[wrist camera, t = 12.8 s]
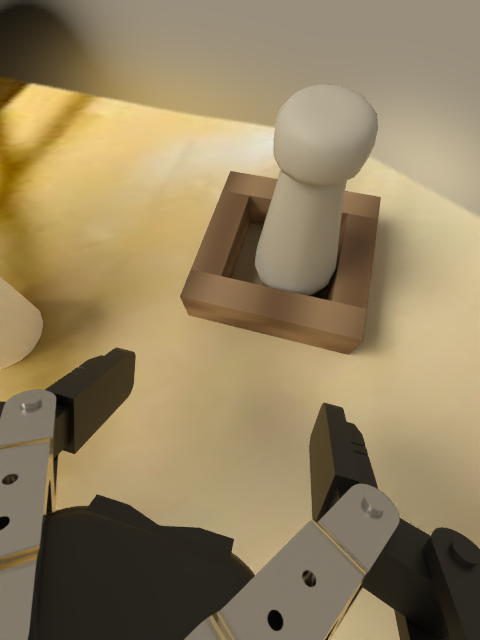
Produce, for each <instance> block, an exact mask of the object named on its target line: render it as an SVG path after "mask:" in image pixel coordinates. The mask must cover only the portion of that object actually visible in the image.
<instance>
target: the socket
mask: <svg viewBox="0 0 480 640" xmlns="http://www.w3.org/2000/svg"><path fill="white" fill-rule="evenodd" d="M277 180H278V179H273V178H267V177H262V176H256V175H250V174H244V173H238V172H233V171H230V174H229V176H228V179H227V181H226V184H225V186H224V189H223V191H222V194H221V196H220V199H219V201H218V203H217V206H216V208H215V211H214V213H213V216H212V218H211V221H210V223H209V226H208V228H207V231H206V233H205V236H204V238H203V241H202V243H201V246H200V248H199V251H198V253H197V256H196V258H195V261H194V263H193V266H192V268H191V271H190V273H189V276H188V278H187V280H186V283H185V285H184V288H183V290H182V293H181V295H180V297H181V300H182V302H183V304H184V306H185V308H186V310H187V313H188V315H191V316H195V317H199V318H203V319H207V320H211V321H215V322H219V323H223V324H227V325H231V326H235V327H239V328H243V329H247V330H251V331H255V332H259V333H263V334H267V335H271V336H275V337H279V338H284V339H288V340H292V341H296V342H300V343H304V344H308V345H312V346H316V347H320V348H324V349H328V350H332V351H336V352H340V353H344V354H349V353H350V352H351V351H352V350H353V349H354V348H355V347H356V346H357V345H358V344H359V343H360V342H362V341H363V335H364V327H365V319H366V311H367V303H368V295H369V287H370V279H371V271H372V263H373V255H374V247H375V239H376V231H377V223H378V215H379V207H380V199H381V197H377V196H371V195H365V194H360V193H354V192H348V191H345V195H344V202H343V209H342V216H341V225H340V234H339V243H338V252H337V261H336V270H335V272H334V274H333V276H332V277H331V279H330V281H329V286H328V291H327V296H326V300H325V299H320V298H316V297H311V296H307V295H303V294H298V293H294V292H289V291H285V290H280V289H276V288H271V287H267V286H263V285H258V284H254V283H249V282H245V281H240V280H236V279H231V276H232V273H233V270H234V267H235V264H236V261H237V258H238V255H239V252H240V250H241V247H242V244H243V241H244V238H245V235H246V232H247V229H248V226H249V223H250V222H251V223H256V224H261V225H264V223H265V220H266V216H267V213H268V210H269V207H270V203H271V200H272V197H273V194H274V190H275V187H276V184H277Z"/></svg>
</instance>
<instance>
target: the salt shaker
mask: <svg viewBox="0 0 480 640" xmlns="http://www.w3.org/2000/svg"><path fill="white" fill-rule="evenodd" d="M377 130H378V123H377V113H376V112H375V110H374V109H373V107H372V106H371V104H370V103H369V102H368V101H367V100H366V99H365V97H364V96H363V95H362V94H360V93H358V92H356V91H354V90H352V89H350V88H348V87H343V86H337V85H332V84H326V85H314V86H310V87H307V88H305V89H303V90H301V91H298V92H296V93H295V94H294V95H293V96H292V97H290V98H289V99H288V101H287V102H286V103H285V104H284V105H283V106H282V107H281V108H280V109H279V112H278V116H277V120H276V124H275V133H274V156H275V159H276V161H277V163H278V165H279V167H280V169H281V171H280V174H279V177H278V180H277V184H276V187H275V190H274V194H273V197H272V200H271V203H270V207H269V210H268V213H267V216H266V220H265V223H264V226H263V230H262V233H261V236H260V239H259V243H258V246H257V250H256V258H255V267H256V270H257V272H258V275H259V277H260V279H261V282H262V283H263V284H264V285H265V286H267V287H271V288H276V289H280V290H285V291H289V292H294V293H298V294H303V295H307V296H311V295H313V294H314V293H316V292H318V291H320V290H321V289H323V288H325V287H326V286H327V284H328V283H329V281H330V279H331V277H332V276H333V274H334V272H335V270H336V261H337V252H338V243H339V234H340V225H341V216H342V209H343V202H344V195H345V188H346V181H347V180H349V179H351V178H353V177H355V176H356V174H357V173H358V172H359V171H360V169H361V168H362V166H363V165H364V163H365V162H366V160H367V159H368V157H369V155H370V153H371V151H372V148H373V146H374V144H375V139H376V135H377Z"/></svg>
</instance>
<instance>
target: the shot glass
mask: <svg viewBox="0 0 480 640" xmlns="http://www.w3.org/2000/svg"><path fill="white" fill-rule="evenodd" d="M42 328H43V320H42V316H41V313H40V311H39V310H38V309H37V308H36V307H35V306H34V305H33V304H32V303H30V302H29V301H28V300H27V299H26V298H25V297H23V296H22V295H21V294H20V293H19V292H18V291H16V290H15V289H14V288H13V287H12V286H11V285H9V284H8V283H7V282H6V281H5V280H4V279H2V278H1V277H0V369H2V368H7V367H9V366H11V365H13V364H15V363H17V362H20V361H21V360H22V359H23V358H24V357H26V356H27V355H28V354H29V353H30V352H31V351H32V350H33V349H34V347H35V346H36V344H37V342H38V341H39V339H40V337H41V334H42Z"/></svg>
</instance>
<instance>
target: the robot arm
mask: <svg viewBox="0 0 480 640" xmlns="http://www.w3.org/2000/svg"><path fill="white" fill-rule="evenodd" d="M134 372H135V353H134V352H132V351H128V350H124V349H121V348H115V349H113V350H112V351H110V352H109V353H108V354H106V355H105V356H98V357H95V358H92V359H89V360H87V361H86V362H85V363H83V364H82V365H80V366H79V368H78V367H77V368H76V369H74V370H73V371H72V372H71V373H69V374H67V375H66V376H64V377H63V378H61V379H60V380H58V381H57V382H55V383H54V384H53V385H51V386H50V387H48V388H47V389H45V390H30V391H25V392H22V393H19V394H17V395H15V396H13V397H11V398H10V399H9V400H8V401H7V402H0V640H330V639H331V638H332V636H333V635H334V633H335V631H336V630H337V628H338V627H339V625H340V623H341V622H342V620H343V619H344V617H345V615H346V614H347V612H348V611H349V609H350V607H351V606H352V604H353V602H354V601H355V599H356V598H357V596H358V594H359V593H360V591H361V590H362V588H365V589H366V590H367V591H369V592H370V593H372V594H373V595H375V596H376V597H377V598H379V599H380V600H382V601H383V602H385V603H386V604H388V605H389V606H390V607H392V608H393V609H394V610H395V615H396V621H397V626H398V631H399V636H400V640H480V549H479V548H478V547H477V546H476V545H475V544H474V543H473V542H472V541H470V540H469V539H468V538H466V537H465V536H463V535H462V534H460V533H458V532H456V531H454V530H452V529H448V528H443V527H442V528H437V529H435V530H434V531H433V533H432V534H431V536H430V535H428V534H426V533H425V532H423V531H421V530H420V529H418V528H416V527H414V526H413V525H411V524H409V523H407V522H406V521H404V520H402V519H401V518H400V517H399V514H398V511H397V509H396V507H395V505H394V504H393V502H392V501H391V500H390V499H389V498H388V497H387V496H386V495H385V494H384V493H383V492H381V491H380V490H378V487H377V484H376V480H375V477H374V473H373V470H372V466H371V463H370V460H369V457H368V453H367V449H366V447H365V442H364V439H363V436H362V434H361V432H360V431H359V430H358V428H357V427H356V426H355V425H354V424H352V423H349V422H346V418H345V414H344V410H343V408H342V407H339V406H335V405H331V404H327V403H323V404H322V406H321V408H320V411H319V414H318V417H317V420H316V422H315V425H314V428H313V431H312V434H311V438H310V445H309V452H310V473H311V494H312V515H313V519H312V520H311V521H310V522H308V523H307V524H306V525H305V526H304V527H303V528H302V529H301V530H300V531H299V532H298V533H297V534H296V535H295V536H294V537H293V538H292V539H291V540H290V541H289V542H288V543H287V544H286V545H285V546H284V547H283V548H282V549H281V550H280V551H279V552H278V553H277V554H276V555H275V556H274V557H273V558H272V559H271V560H270V561H269V562H268V563H267V564H266V565H265V566H264V567H263V568H262V569H261V570H260V571H259V572H258V573H257V574H256V575H255V574H254V573H253V572H252V571H251V569H250V568H249V567H248V566H247V565H246V564H245V563H244V562H243V561H242V560H241V559H240V558H238V557H237V556H236V555H234V554H233V553H232V552H231V551H232V546H233V541H234V539H232V538H229V537H226V536H223V535H219V534H216V533H213V532H210V531H207V530H204V529H201V528H193V527H173V526H160V525H158V524H156V523H155V522H153V521H152V520H150V519H149V518H147V517H146V516H144V515H143V514H142V513H140V512H139V511H137V510H136V509H134V508H133V507H132V506H130V505H128V504H125V503H122V502H119V501H116V500H113V499H110V498H106V497H103V496H100V495H96V497H95V498H94V499H93V501H92V502H91V503H90V505H89V506H76V507H70V508H65V509H61V510H58V511H56V500H57V484H58V467H59V453H60V452H61V451H62V450H64V451H67V452H70V453H73V454H75V453H76V452H77V451H78V450H79V449H80V448H81V447H82V446H83V445H84V444H85V443H86V442H87V440H88V439H89V438H90V437H91V436H92V435H93V434H94V433H95V432H96V431H97V430H98V429H99V428H100V427H101V426H102V424H103V423H104V422H105V421H106V420H107V419H108V418H109V417H110V416H111V415H112V414H113V413H114V412H115V411H116V409H117V408H118V407H119V406H120V405H121V404H122V403H123V402H124V401H125V400H126V399H127V398H128V396H129V395H130V393H131V391H132V388H133V384H134Z"/></svg>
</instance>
